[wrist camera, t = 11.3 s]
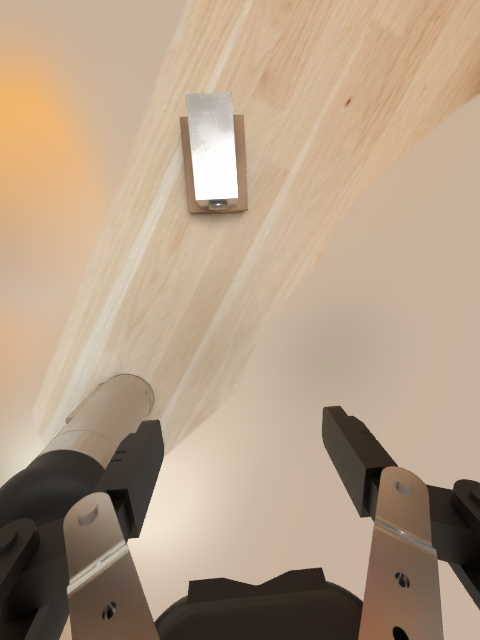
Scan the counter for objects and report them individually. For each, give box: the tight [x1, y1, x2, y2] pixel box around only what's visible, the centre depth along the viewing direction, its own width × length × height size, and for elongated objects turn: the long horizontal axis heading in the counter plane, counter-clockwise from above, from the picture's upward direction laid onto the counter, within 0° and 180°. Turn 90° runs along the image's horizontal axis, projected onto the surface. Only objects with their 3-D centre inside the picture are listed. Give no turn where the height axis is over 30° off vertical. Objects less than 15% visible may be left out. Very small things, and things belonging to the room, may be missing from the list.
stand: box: [180, 115, 248, 214], centre depth 34 cm, size 8×11×4 cm
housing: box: [186, 92, 238, 210], centre depth 29 cm, size 11×5×6 cm, turn 4°
